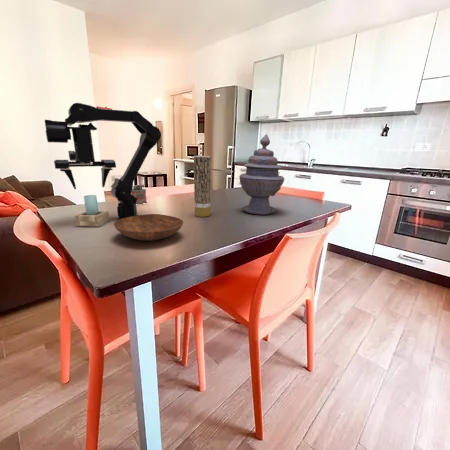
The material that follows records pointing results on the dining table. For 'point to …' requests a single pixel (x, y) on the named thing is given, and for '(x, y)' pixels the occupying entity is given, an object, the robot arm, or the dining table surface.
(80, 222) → the socket
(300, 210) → the dining table surface
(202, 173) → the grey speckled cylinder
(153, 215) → the bowl
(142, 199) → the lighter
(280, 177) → the decorative urn
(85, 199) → the peg
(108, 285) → the dining table surface
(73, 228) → the dining table surface
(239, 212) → the dining table surface
